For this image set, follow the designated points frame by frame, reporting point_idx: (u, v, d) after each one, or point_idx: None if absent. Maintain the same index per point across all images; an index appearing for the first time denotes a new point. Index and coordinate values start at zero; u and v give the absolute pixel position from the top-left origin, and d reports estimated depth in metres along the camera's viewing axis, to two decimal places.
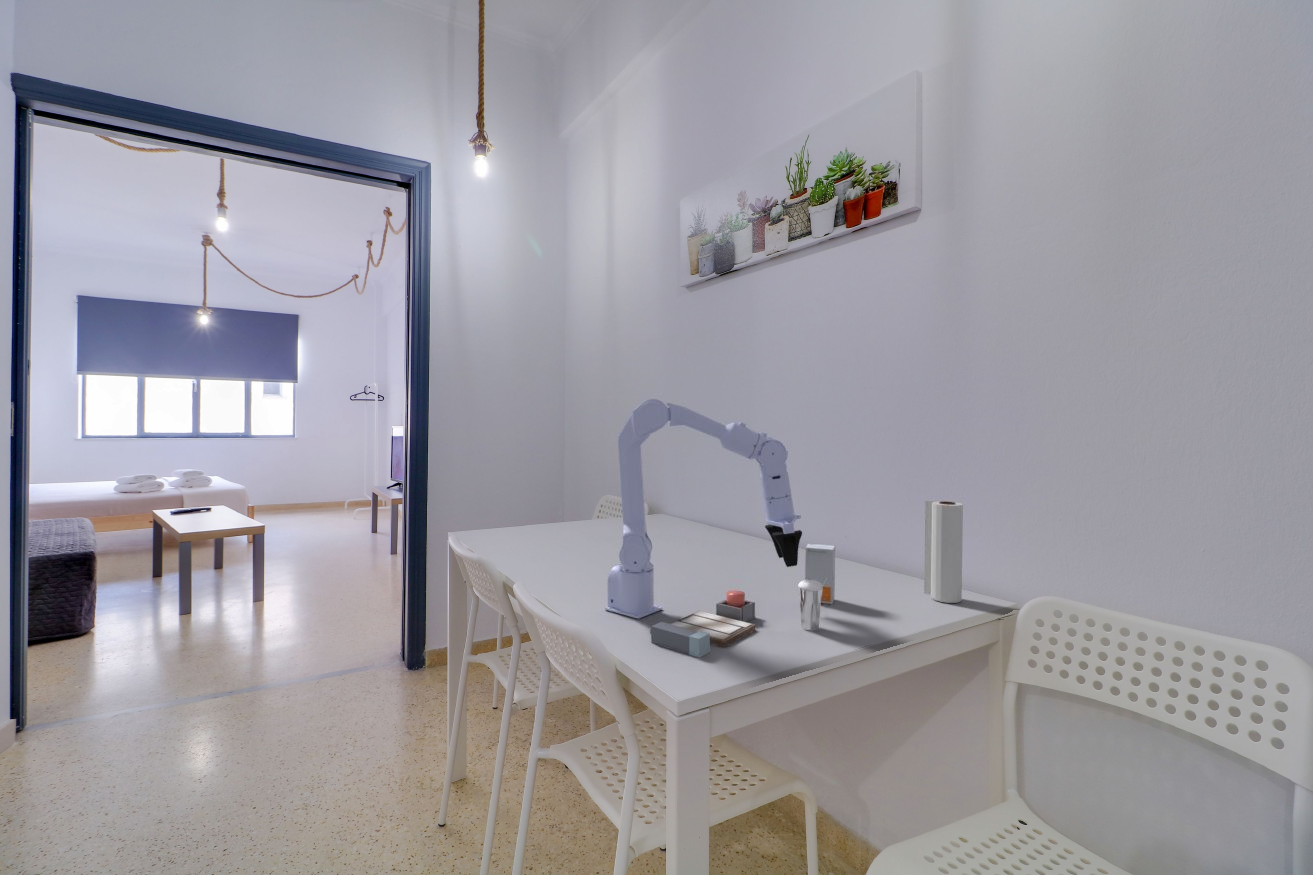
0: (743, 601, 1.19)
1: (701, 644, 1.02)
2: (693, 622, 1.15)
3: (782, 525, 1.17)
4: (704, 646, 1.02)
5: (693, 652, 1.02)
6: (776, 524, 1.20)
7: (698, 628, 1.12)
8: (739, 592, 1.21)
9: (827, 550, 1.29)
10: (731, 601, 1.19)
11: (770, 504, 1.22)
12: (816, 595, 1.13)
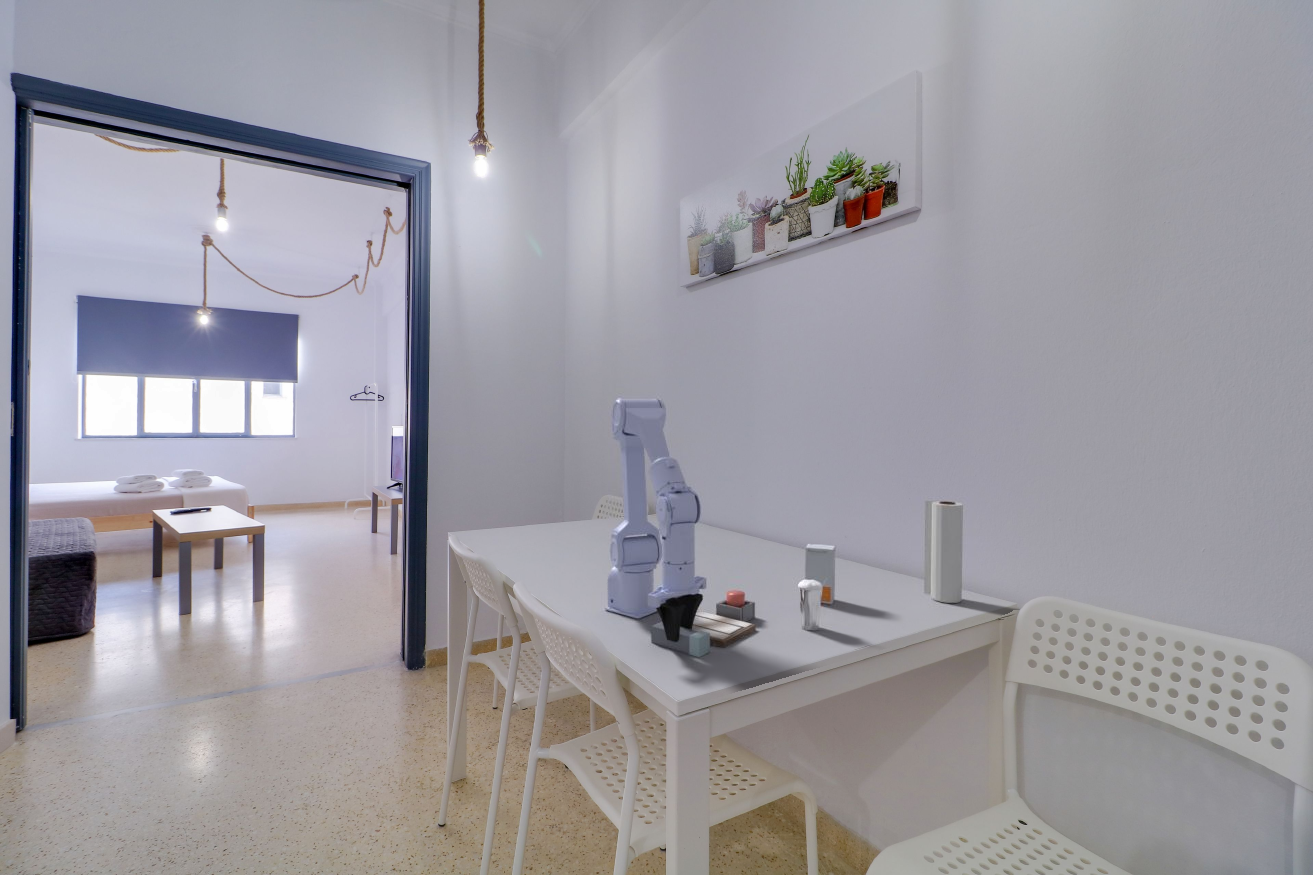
0: (743, 601, 1.19)
1: (701, 644, 1.02)
2: (693, 622, 1.15)
3: None
4: (704, 646, 1.02)
5: (693, 652, 1.02)
6: None
7: (698, 628, 1.12)
8: (739, 592, 1.21)
9: (827, 550, 1.29)
10: (731, 601, 1.19)
11: (662, 567, 1.05)
12: (816, 595, 1.13)
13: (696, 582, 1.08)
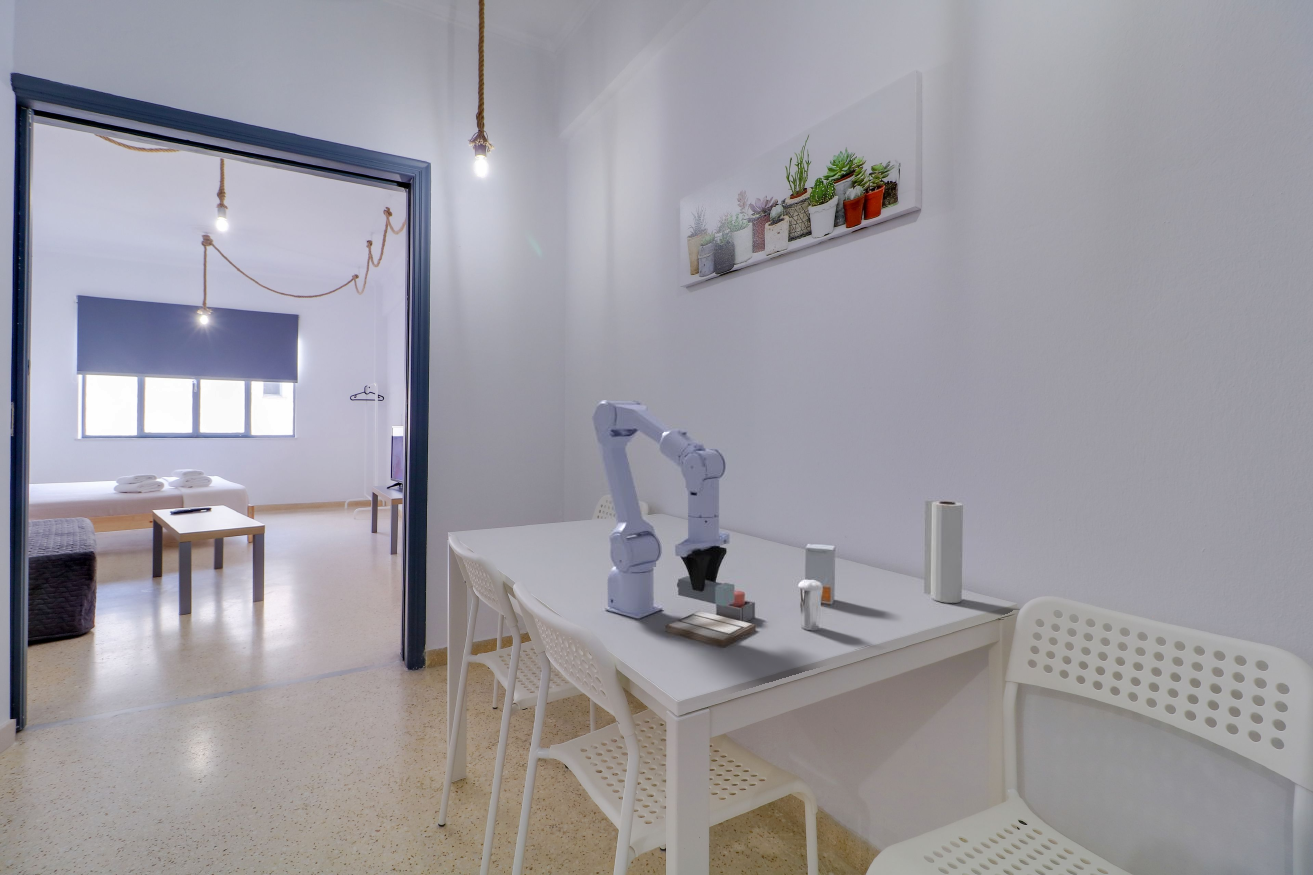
0: (743, 601, 1.19)
1: (726, 594, 1.07)
2: (693, 622, 1.15)
3: None
4: (729, 596, 1.08)
5: (719, 601, 1.08)
6: None
7: (698, 628, 1.12)
8: (739, 592, 1.21)
9: (827, 550, 1.29)
10: None
11: (688, 521, 1.11)
12: (816, 595, 1.13)
13: (720, 537, 1.14)
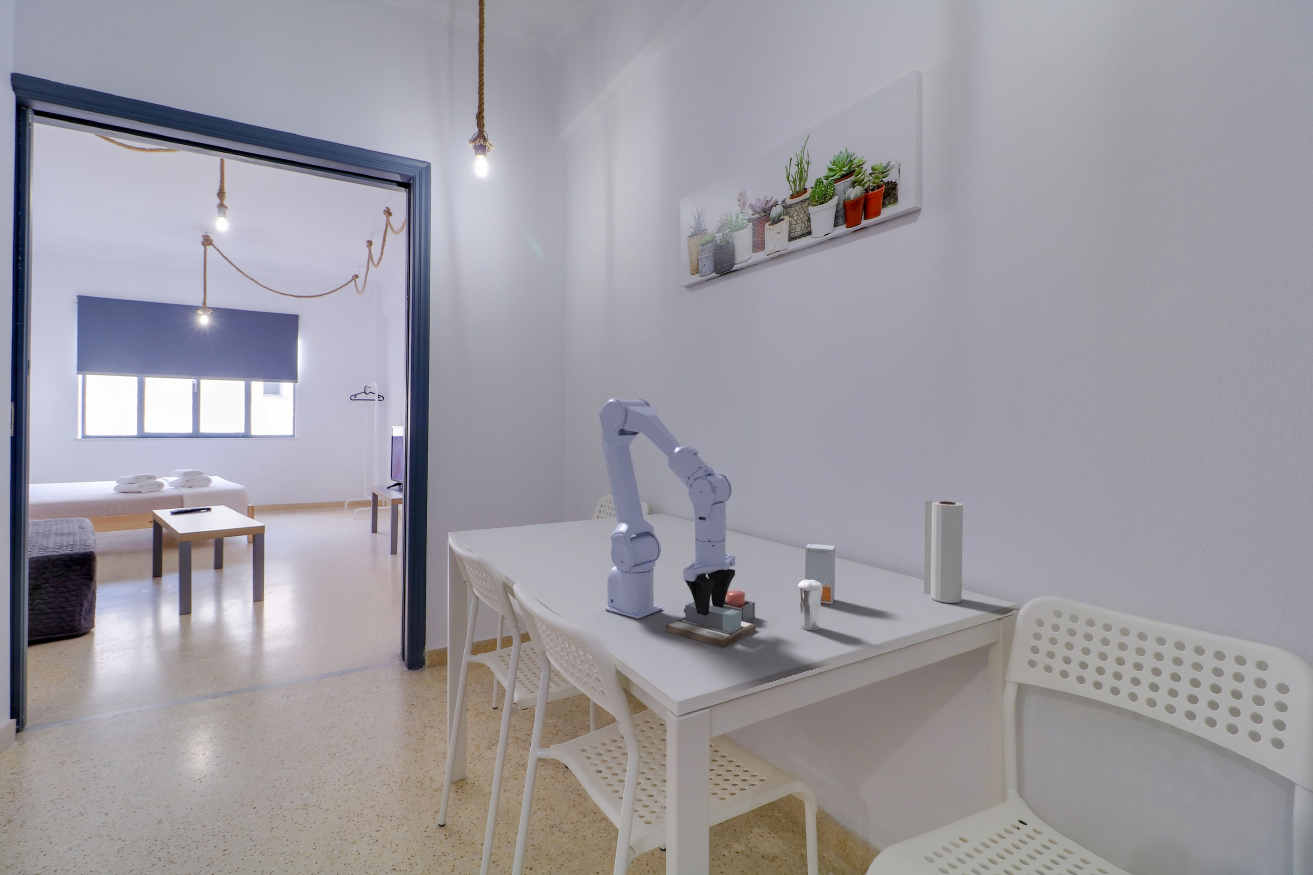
0: (743, 601, 1.19)
1: (734, 620, 1.09)
2: None
3: None
4: (736, 623, 1.10)
5: (726, 628, 1.10)
6: None
7: (698, 628, 1.12)
8: (739, 592, 1.21)
9: (827, 550, 1.29)
10: (731, 601, 1.19)
11: (695, 544, 1.13)
12: (816, 595, 1.13)
13: (726, 559, 1.16)
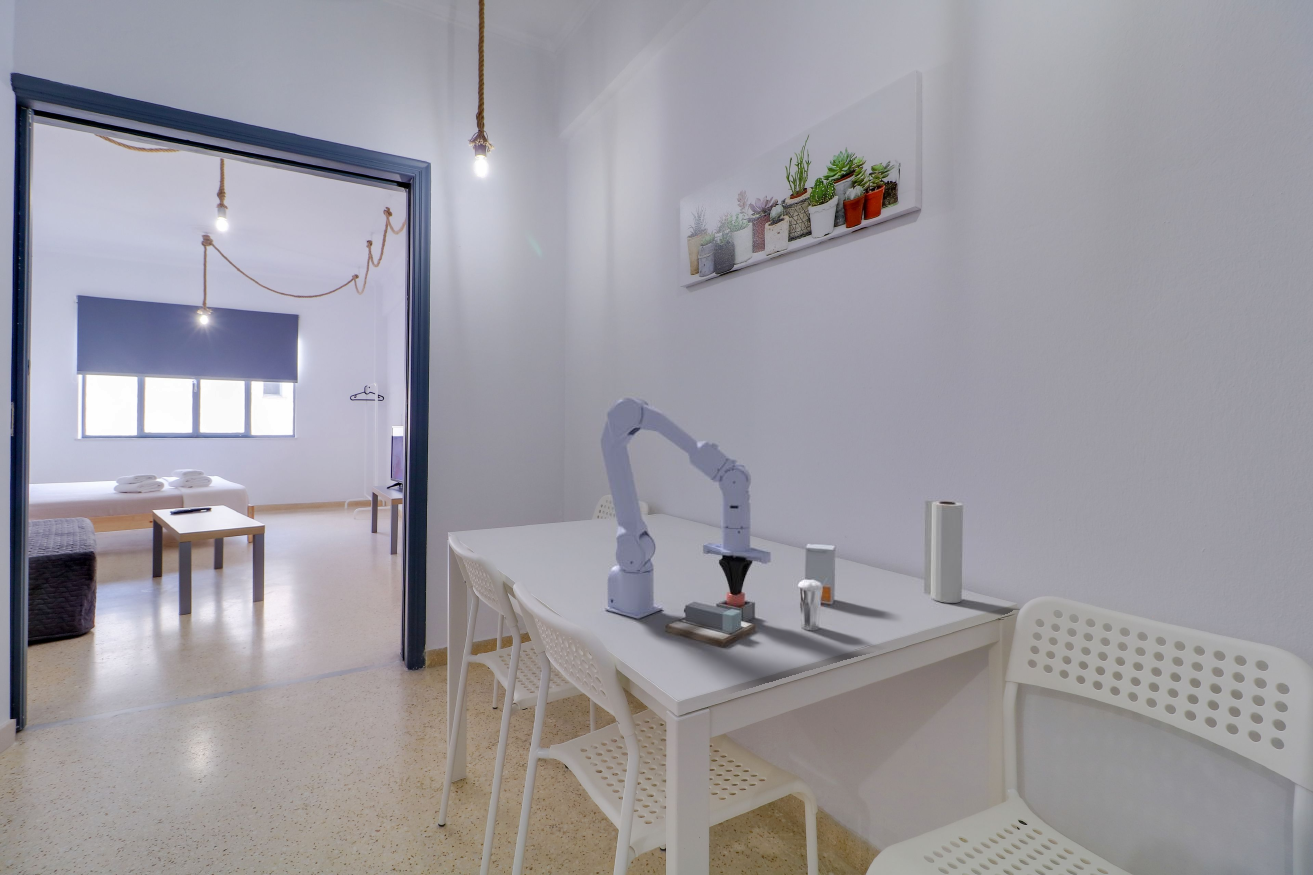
0: (743, 601, 1.19)
1: (734, 620, 1.09)
2: None
3: None
4: (736, 623, 1.10)
5: (726, 628, 1.10)
6: None
7: (698, 628, 1.12)
8: None
9: (827, 550, 1.29)
10: (731, 601, 1.19)
11: None
12: (816, 595, 1.13)
13: None
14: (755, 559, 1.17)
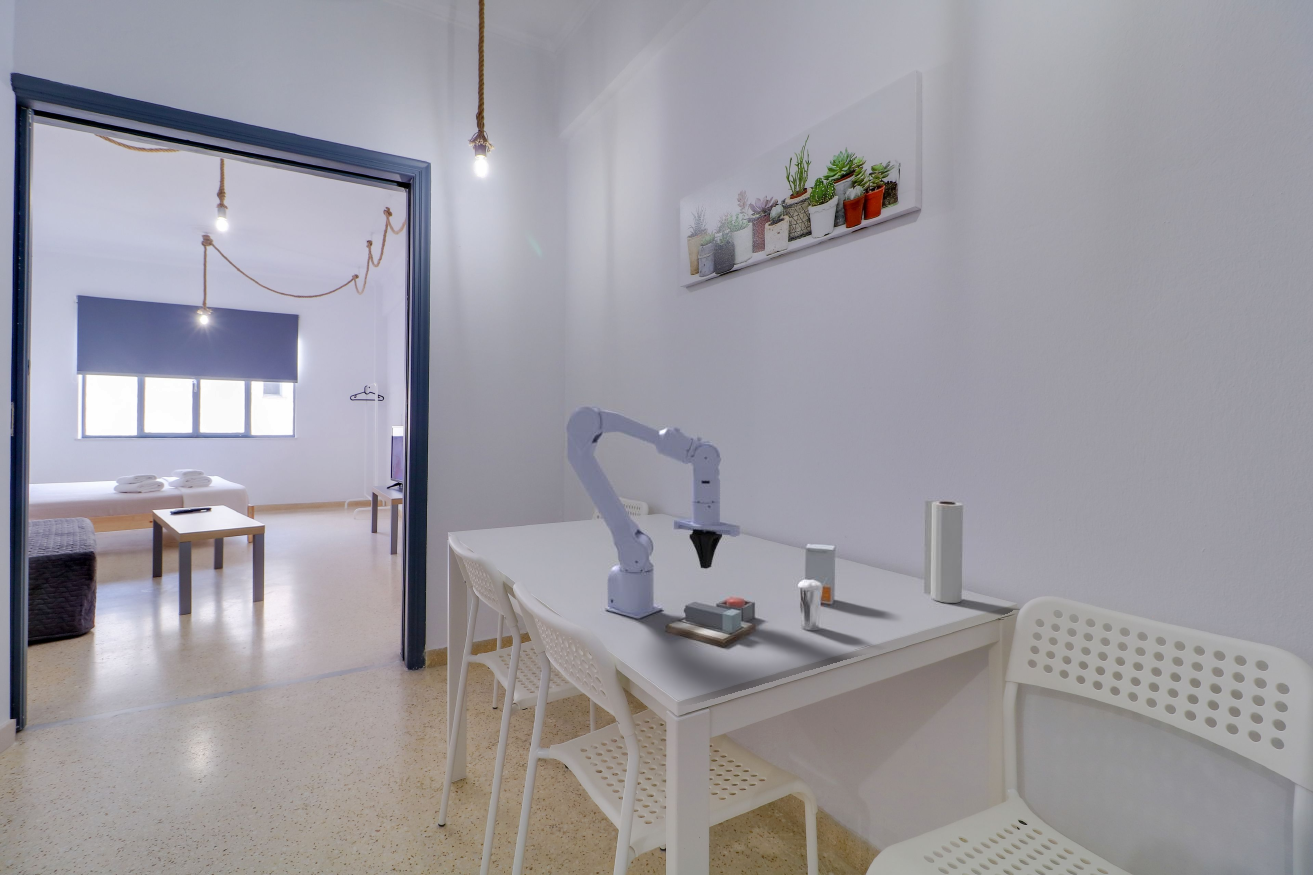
0: None
1: (734, 620, 1.09)
2: None
3: None
4: (736, 623, 1.10)
5: (726, 628, 1.10)
6: None
7: (698, 628, 1.12)
8: (739, 599, 1.21)
9: (827, 550, 1.29)
10: None
11: None
12: (816, 595, 1.13)
13: None
14: (725, 533, 1.20)
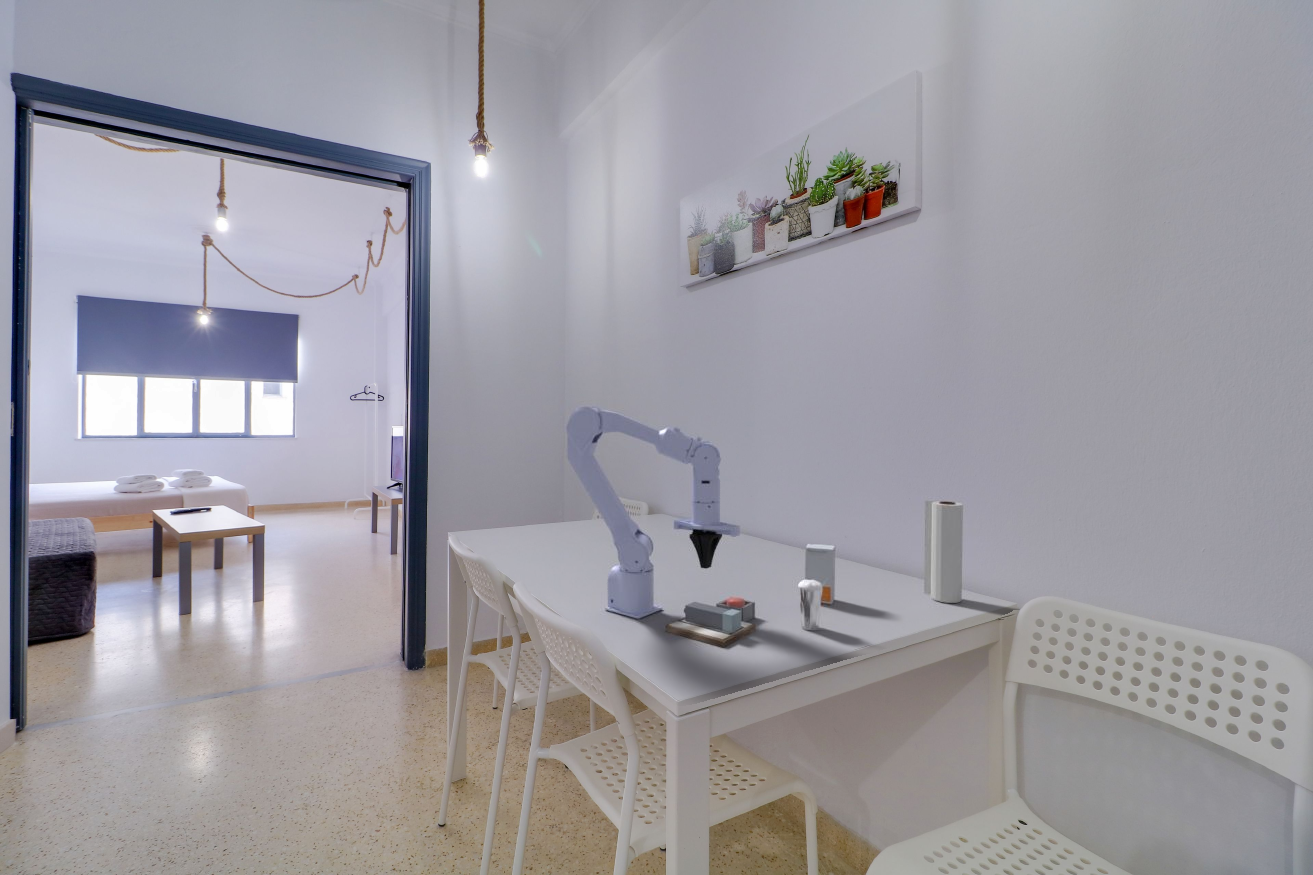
0: None
1: (734, 620, 1.09)
2: None
3: None
4: (736, 623, 1.10)
5: (726, 628, 1.10)
6: None
7: (698, 628, 1.12)
8: (739, 599, 1.21)
9: (827, 550, 1.29)
10: None
11: None
12: (816, 595, 1.13)
13: None
14: (725, 532, 1.20)
